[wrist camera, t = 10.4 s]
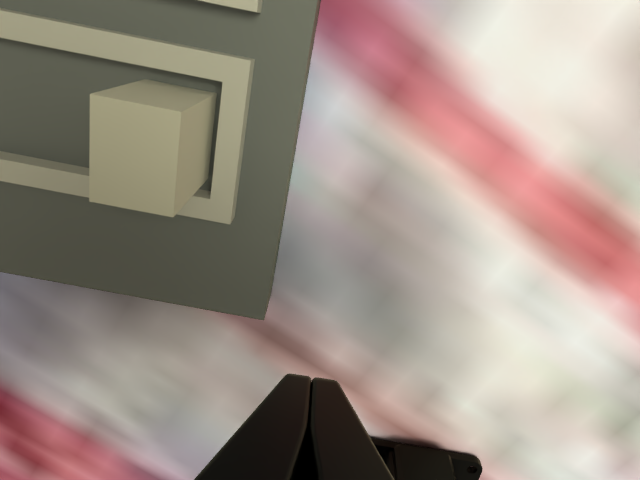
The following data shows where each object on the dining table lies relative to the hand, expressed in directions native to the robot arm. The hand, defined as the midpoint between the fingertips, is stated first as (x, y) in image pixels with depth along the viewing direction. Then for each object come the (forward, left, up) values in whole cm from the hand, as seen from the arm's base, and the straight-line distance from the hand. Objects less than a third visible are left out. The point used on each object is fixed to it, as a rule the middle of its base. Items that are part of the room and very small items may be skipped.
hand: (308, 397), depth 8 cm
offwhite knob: (+1, +6, -11) cm, 12 cm away
